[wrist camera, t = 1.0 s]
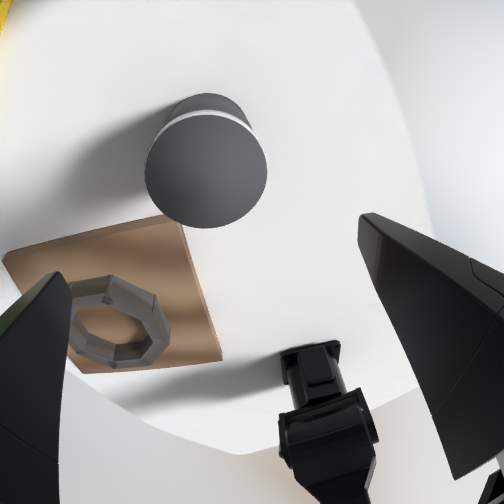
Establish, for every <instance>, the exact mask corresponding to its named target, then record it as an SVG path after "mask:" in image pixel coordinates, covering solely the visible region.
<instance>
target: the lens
mask: <svg viewBox="0 0 504 504" xmlns="http://www.w3.org/2000/svg"><path fill="white" fill-rule="evenodd" d="M267 173H268V167H267V159H266V155H265V152H264V149H263V147H262V145H261V143H260V141H259V139H258V137H257V136H256V134H255V133H254V132H253V130H252V128H251V126H250V124H249V122H248V120H247V118H246V116H245V114H244V113H243V111H242V110H241V108H240V107H239V106H238V105H237V104H236V103H235V102H233V101H232V100H230V99H229V98H227V97H224V96H222V95H218V94H212V93H204V94H198V95H194V96H191V97H189V98H187V99H185V100H184V101H182V102H181V103H180V104H178V105H177V106H176V107H175V109H174V110H173V111H172V113H171V114H170V116H169V118H168V119H167V121H166V123H165V124H164V126H163V128H162V129H161V131H160V132H159V133H158V135H157V136H156V138H155V139H154V141H153V143H152V145H151V147H150V148H149V151H148V153H147V156H146V161H145V168H144V175H145V182H146V187H147V190H148V193H149V195H150V197H151V199H152V201H153V202H154V203H155V205H156V206H157V207H158V208H159V210H160V211H161V212H162V213H164V214H165V215H166V216H167V217H169V218H170V219H172V220H174V221H176V222H178V223H180V224H183V225H186V226H189V227H194V228H216V227H221V226H225V225H227V224H230V223H232V222H234V221H236V220H238V219H240V218H241V217H243V216H244V215H245V214H247V213H248V212H249V211H250V210H251V209H252V208H253V207H254V206H255V204H256V203H257V202H258V200H259V199H260V197H261V195H262V193H263V191H264V188H265V184H266V180H267Z"/></svg>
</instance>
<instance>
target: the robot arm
mask: <svg viewBox="0 0 504 504" xmlns="http://www.w3.org/2000/svg"><path fill="white" fill-rule="evenodd" d="M358 246H359V249H360V251H361V254H362V256H363V259H364V261H365V264H366V267H367V269H368V272H369V274H370V277H371V280H372V283H373V285H374V288H375V290H376V292H377V294H378V296H379V298H380V300H381V302H382V304H383V306H384V308H385V310H386V312H387V314H388V316H389V319H390V321H391V323H392V325H393V327H394V329H395V331H396V333H397V336H398V338H399V340H400V342H401V344H402V346H403V349H404V351H405V353H406V355H407V358H408V360H409V362H410V364H411V367H412V369H413V371H414V374H415V376H416V378H417V381H418V383H419V385H420V388H421V390H422V393H423V395H424V398H425V400H426V402H427V405H428V408H429V410H430V413H431V415H432V419H433V421H434V424H435V426H436V429H437V432H438V435H439V437H440V440H441V443H442V446H443V449H444V452H445V454H446V457H447V460H448V463H449V466H450V469H451V473H452V476H453V478H454V480H457V479H459V478H461V477H463V476H465V475H467V474H468V473H470V472H472V471H474V470H475V469H477V468H479V467H481V466H482V465H483V464H485V463H487V462H489V461H490V460H492V459H494V458H495V457H496V458H497V461H498V463H499V466H500V469H499V470H497V471H495V472H494V473H492V474H491V475H489V477H488V480H487V483H486V485H485V488H484V490H483V493H482V495H481V497H480V500H479V502H478V504H504V274H503V273H501V272H499V271H497V270H494V269H493V268H491V267H489V266H487V265H485V264H482V263H481V262H479V261H477V260H475V259H473V258H469V257H468V256H467V255H465V254H463V253H461V252H459V251H457V250H455V249H453V248H451V247H449V246H447V245H444V244H442V243H440V242H438V241H436V240H434V239H432V238H430V237H428V236H425V235H423V234H421V233H419V232H417V231H415V230H412V229H410V228H408V227H406V226H403V225H401V224H399V223H397V222H394V221H392V220H390V219H388V218H385V217H383V216H381V215H378V214H376V213H366V214H361V215H360V217H359V222H358ZM72 301H73V294H72V291H71V289H70V287H69V285H68V284H67V282H66V280H65V279H64V277H63V275H62V273H61V272H59V271H54V272H50V273H47V274H46V275H45V276H44V277H43V278H41V279H40V280H39V281H38V282H37V283H36V284H35V285H33V286H32V287H31V288H30V289H29V290H28V291H27V292H26V293H24V294H23V295H22V296H21V297H20V298H19V299H18V300H17V301H16V302H15V303H14V304H12V305H11V306H10V307H9V308H8V309H7V310H6V311H5V312H4V313H3V314H2V315H1V316H0V504H60V499H59V464H58V455H59V454H58V453H59V452H58V451H59V426H60V411H61V399H62V389H63V380H64V371H65V364H66V357H67V350H68V343H69V334H70V322H71V311H72ZM340 348H341V344H340V342H339V341H333V342H329V343H325V344H320V345H316V346H311V347H306V348H302V349H297V350H292V351H287V352H283V353H281V355H280V357H281V366H282V375H283V382H284V384H285V385H289V386H290V391H291V395H292V400H293V404H294V408H295V410H294V411H290V412H287V413H280V414H279V421H278V425H279V438H280V444H279V456H280V457H281V458H283V459H284V460H285V462H286V464H287V465H288V467H289V468H290V469H293V472H294V477H295V479H296V481H297V482H298V483H299V484H300V485H301V486H303V487H304V488H305V489H306V490H307V491H308V492H309V493H310V494H311V495H312V496H314V497H315V498H316V499H317V500H318V501H319V502H320V504H371V502H370V498H369V494H368V488H369V485H370V482H371V479H372V476H373V472H374V469H375V466H376V454H375V451H374V447H373V444H375V443H377V442H379V439H378V435H377V431H376V428H375V425H374V422H373V419H372V416H371V413H370V411H369V408H368V406H367V403H366V401H365V398H364V396H363V393H362V391H361V388H360V387H359V388H356V389H355V390H353V391H351V392H348V393H347V390H346V387H345V384H344V381H343V378H342V376H341V373H340V370H339V367H338V362H339V355H340Z"/></svg>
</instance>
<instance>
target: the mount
mask: <svg viewBox="0 0 504 504" xmlns="http://www.w3.org/2000/svg"><path fill="white" fill-rule="evenodd" d="M2 262H3V264H4V266H5V267H6V269H7V271H8V273H9V274H10V276H11V277H12V279H13V281H14V282H15V284H16V285H17V287H18V289H19V290H20V292H21V293H22V295H23V294H24V293H26V292H27V291H28V290H29V289H30V288H31V287H32V286H33V285H35V284H36V283H37V282H38V281H39V280H40V279H41V278H43V277H44V276H45V275H46V274H47V273H50V272H54V271H59V272H61V273H62V275H63V277H64V279H65V280H66V282H67V284H68V285H69V287H70V289H71V291H72V294H73V301H72V311H71V322H70V334H69V343H68V350H67V356H68V357H69V358H70V359H71V361H72V362H73V363H74V364H75V365H76V366H77V368H78V369H79V370H80V371H81V372H82V373H83V374H93V373H111V372H126V371H139V370H150V369H160V368H170V367H179V366H187V365H195V364H203V363H210V362H217V361H223V359H222V350H221V347H220V344H219V341H218V338H217V336H216V333H215V330H214V327H213V324H212V321H211V318H210V315H209V312H208V309H207V306H206V303H205V299H204V296H203V293H202V290H201V287H200V284H199V281H198V278H197V274H196V271H195V268H194V265H193V261H192V258H191V255H190V251H189V248H188V245H187V241H186V238H185V235H184V231H183V228H182V224H180V223H178V222H176V221H174V220H172V219H170V218H169V217H167V216H166V215H165V214H164V215H159V216H155V217H150V218H145V219H141V220H136V221H131V222H127V223H122V224H118V225H114V226H109V227H105V228H101V229H96V230H92V231H88V232H84V233H80V234H76V235H72V236H68V237H64V238H60V239H56V240H52V241H48V242H44V243H40V244H37V245H33V246H29V247H25V248H22V249H18V250H15V251H11V252H8V253H7V254H6V255H5V257H4V258H3V260H2Z"/></svg>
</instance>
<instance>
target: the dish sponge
mask: <svg viewBox="0 0 504 504" xmlns="http://www.w3.org/2000/svg"><path fill="white" fill-rule="evenodd" d="M11 3H12V0H0V34H1V31H2V27H3V25H4V22H5V19H6V16H7V13H8V11H9V8H10V5H11Z"/></svg>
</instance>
